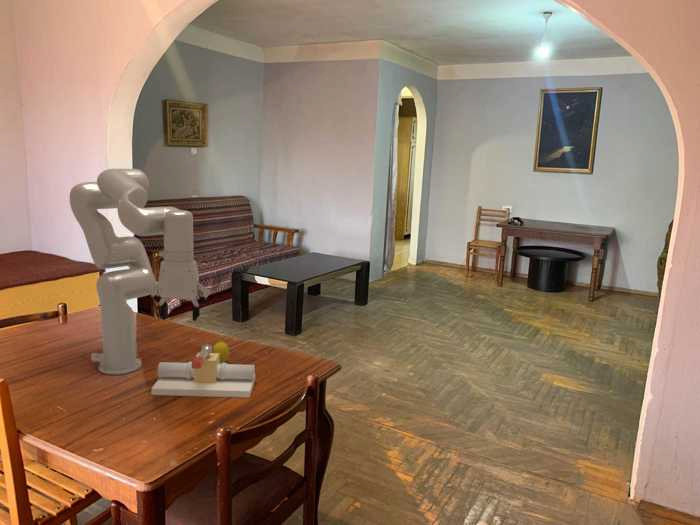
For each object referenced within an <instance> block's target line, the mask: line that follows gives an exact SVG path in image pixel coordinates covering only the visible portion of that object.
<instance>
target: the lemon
mask: <svg viewBox="0 0 700 525" xmlns="http://www.w3.org/2000/svg"><path fill="white" fill-rule="evenodd" d="M211 353H220V364H222V363H226V362H227V360H228V359H229V358H230V349H229V346H228V344H227V343H225V342H223V341H218V342H216V343H215V344H214V346H212V352H211Z"/></svg>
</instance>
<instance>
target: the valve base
mask: <svg viewBox="0 0 700 525" xmlns="http://www.w3.org/2000/svg"><path fill="white" fill-rule="evenodd" d="M199 353H200V352H198V353H196V356H195V357H198V355H199ZM255 368H256V367H255V364H236V363H235V364H234V363H232V364H230V363H227V362H223V363H222V364H220V353H212V352H209V353H208V354H207V356H206V357H205V359H204V364H203V366H202V367H201V369H194V368H192V361H188V362H172V361H171V362H169V361H168V362H167V361H166V362H164V361H160V362H159V363H158V366H157V376H158V379H157V381H156V382H155V383H154V384H153V386H152V388H151V396H167V397H168V396H173V397H175V396H178V397H180V396H181V397H209V398H210V397H212V398H213V397H215V398H216V397H217V398H244V399H245V398H251V394H252V391H253V388H254V385H255V383H254V382H256V373H255V370H256V369H255Z"/></svg>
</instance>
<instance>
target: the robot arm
mask: <svg viewBox="0 0 700 525" xmlns="http://www.w3.org/2000/svg"><path fill="white" fill-rule="evenodd" d="M149 189H150V181H149V178H148V176H147V175H146V173H145V172H143V171H142V170H141V169H138V168H108V169H105V170H103V171H101V172H100V173H99V174H98V176H97V178H96V181H86V182H80V183H77V184H75V185H74V186H73V187H71V189H70V190H69V191H70V193H69V204H70V210H71V212H72V214H73V216H74V218H75V220H76V221H77V223H78V225H79V226H80V228H81V229H82V232H83V235H84V238H85V241H86V244H87V247H88V249H89V250H88V251H89V253H90V256H91V259H92V262H93V264H94V266H96V267H97V268H98V269H100V270H101V269H102V270H107V269H115V268H123V267H128V268H126V269H119V270H118V269H117V270H111V271H107V272H105V273H103V274H101V275H99V277H98V278H97V280H96V284H95V285H96V286H95V288H96V292H97V296H98V301H99V306H100V313H101V314H100V315H101V335H102V351H103V352H101V353H94V352H92V353H91V355H90V359H91V362H92V363H97V362H98V371H99V372H101V374H104V375H111V376H112V375H116V376H117V375H124V374H129V373H132V372H135V371H137V370H139V369H140V368H141V366H142V360H141V359H139V358H138V357H137V354H136V353H137V352H136V351H137V349H136V328H135V327H136V326H135V325H136V324H135V320H136V319H135V312H134V310H133V308H132V307H131V306H130V305H129V304H128V302H127V301H129V300H131V299H132V300H133V299H138V298H142V297H146V296H149V295H150V296H151V297H152V298H153V300H154V301H156V303H158V306H159V307H160V317H162V321H166V320H167V318H168V317H169V304H168V302H167V300H169V299H171V300H190V301H191V303H192V304H193V306H192V309H191V310H192V321H194V322H196V321H197V320H198V318H199V317H200V315H201V313H200V311H201V310H200V308H201V307H200V305H202V304H203V303H204V301H205V300H207V298H208V297H209V296H210V294H211V290H210V289H208V287H206V286H204V285H203V284H202V283H200V277H199V275H200V274H199V269H198V263H197V261H196V260H194V257H195V256H194V254H195V253H194V215H193V213H192V212H191V211H189V210H185V209H179V208H177V207H175V206H155V207H154V206H153V207H145V206H146V205H147V202H148V191H149ZM104 209H105V210H108V209H109V210H111V209H117V210H116V211H117V215H118V219H119V221H120V223H121V225H123V227H125V228H126V229H127V230H128V231H129V232H131V233H132V234H134V235H136V236H139V237H149V236H160V235H163V250H162V251H158V257H162V258H163V260H162V261H161V262H160V267H159V276H158V283H156V280H155V279H156V278H155V276H154V271H153V269H152V265H151V262H150V259H149V257H148V254H147V251H146V249H145V246H144V244H143V243H142V241H141V240H140V239H139V238H137V237H135V236H121V237H119V236H117V234H116V233H115V230H114V227H113V224H112V223H111V221H110V220H109V219H108V218H107V217H106V216H105V215H103V213H101V212H99V211H98V210H104ZM157 290H158V292H157ZM200 291H201V293H203V295H202V296H200V297H199V294H200Z"/></svg>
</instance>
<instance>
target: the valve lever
mask: <svg viewBox="0 0 700 525" xmlns="http://www.w3.org/2000/svg"><path fill="white" fill-rule="evenodd" d="M212 350H213V345H212V344H203V345H201V350H200V352H198V353H199V355H198V357H196V356H195V357H194V358H193V359H192V361H191V362H192V368H194V369H201V367H202V366H203V364H204V359H205V357H206V356H207V354H208V353H209V352H210V353H212Z"/></svg>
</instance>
